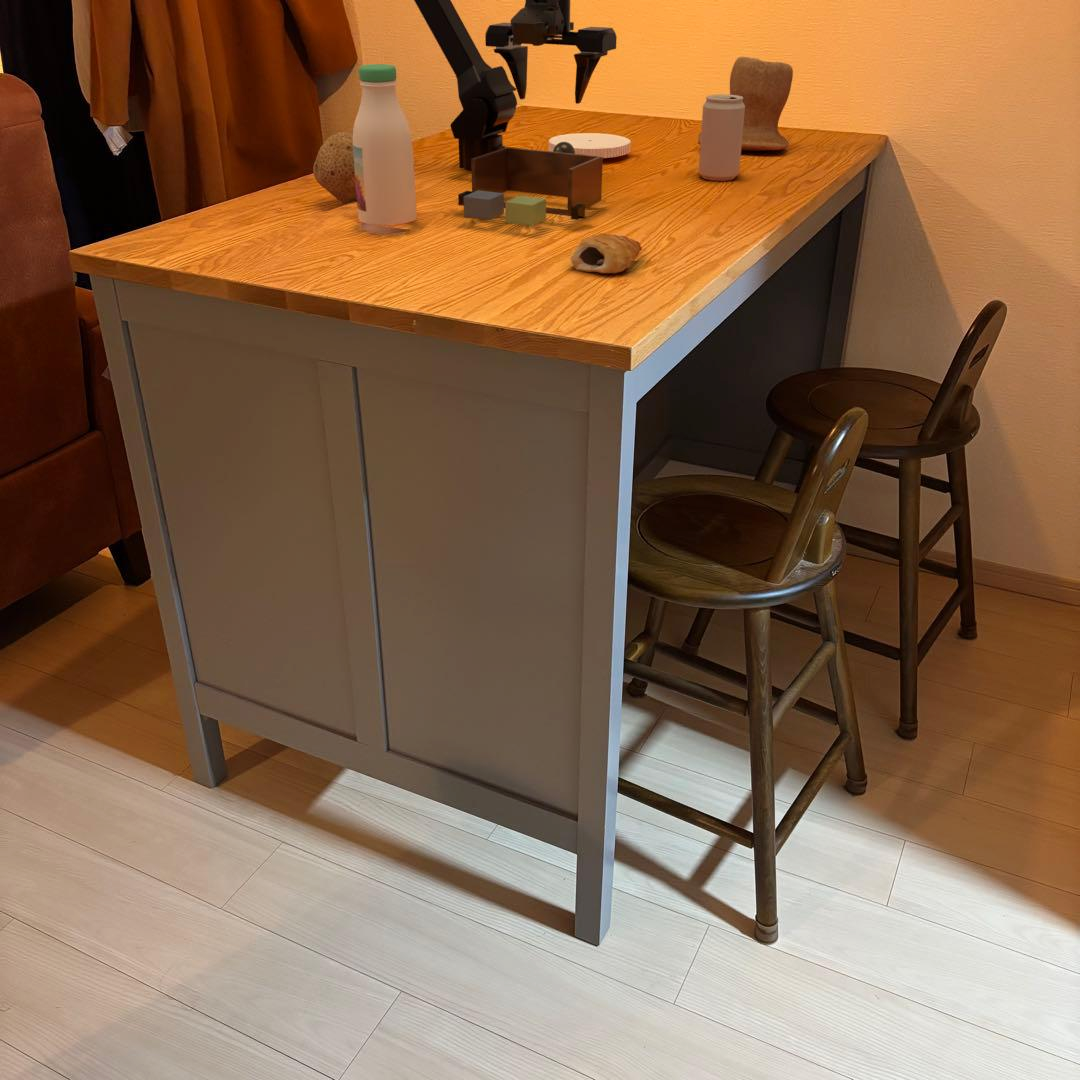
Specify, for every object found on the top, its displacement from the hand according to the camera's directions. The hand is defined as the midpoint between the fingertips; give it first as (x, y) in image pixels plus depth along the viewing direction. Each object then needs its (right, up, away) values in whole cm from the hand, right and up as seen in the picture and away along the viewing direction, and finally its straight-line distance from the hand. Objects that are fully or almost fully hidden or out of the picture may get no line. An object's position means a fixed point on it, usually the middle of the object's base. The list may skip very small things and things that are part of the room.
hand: (549, 101), depth 160 cm
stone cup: (+35, +4, +30) cm, 46 cm away
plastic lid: (+7, 0, +24) cm, 25 cm away
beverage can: (+27, -8, +10) cm, 30 cm away
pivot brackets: (-4, -22, -13) cm, 25 cm away
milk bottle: (-22, -24, -16) cm, 36 cm away
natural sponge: (-29, -17, -5) cm, 34 cm away
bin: (-1, -18, -7) cm, 19 cm away
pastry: (+7, -33, -31) cm, 45 cm away
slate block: (-8, -20, -14) cm, 26 cm away
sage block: (-2, -22, -17) cm, 28 cm away
